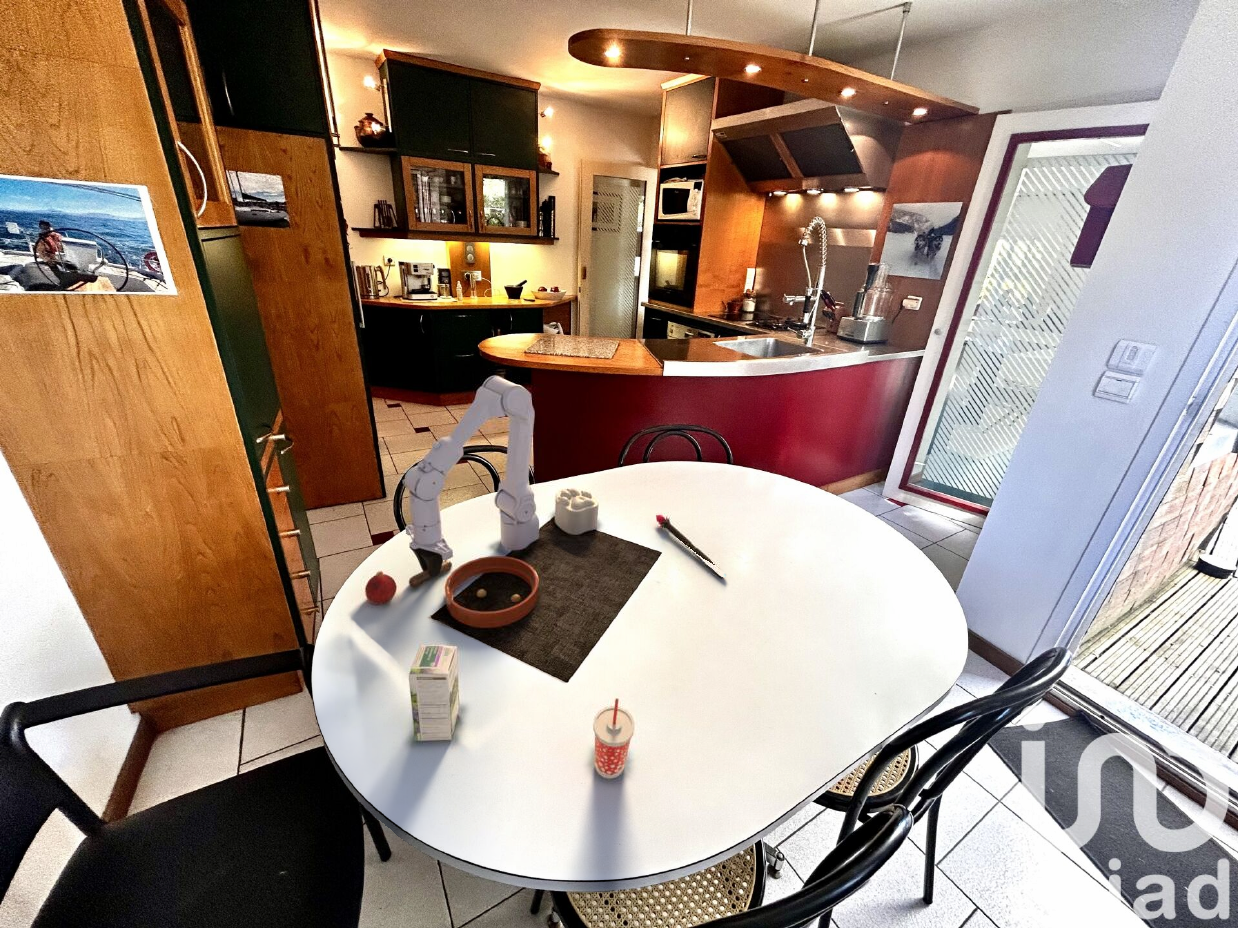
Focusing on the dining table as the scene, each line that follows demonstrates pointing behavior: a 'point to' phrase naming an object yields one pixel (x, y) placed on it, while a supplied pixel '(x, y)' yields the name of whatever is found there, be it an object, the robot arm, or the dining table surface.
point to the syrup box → (434, 692)
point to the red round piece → (380, 588)
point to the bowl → (488, 566)
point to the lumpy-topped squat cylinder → (576, 511)
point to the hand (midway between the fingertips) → (431, 572)
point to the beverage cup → (612, 739)
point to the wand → (680, 536)
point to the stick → (426, 577)
